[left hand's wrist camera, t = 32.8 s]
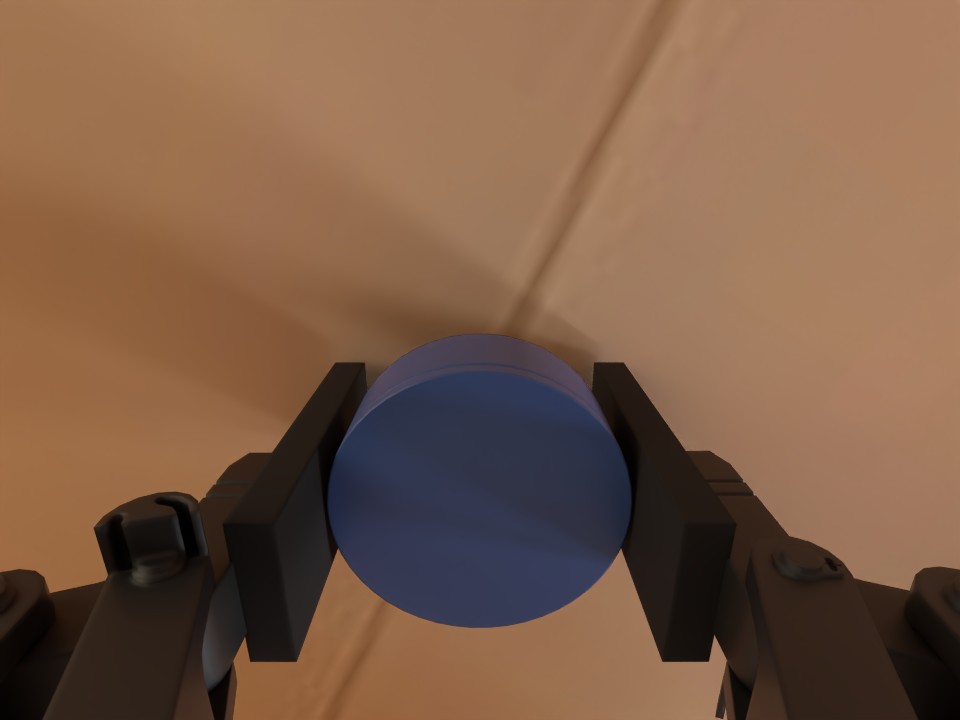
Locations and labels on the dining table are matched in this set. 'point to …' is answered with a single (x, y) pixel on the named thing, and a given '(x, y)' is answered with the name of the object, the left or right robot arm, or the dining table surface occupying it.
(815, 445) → the dining table surface
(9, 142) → the dining table surface
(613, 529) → the lid
